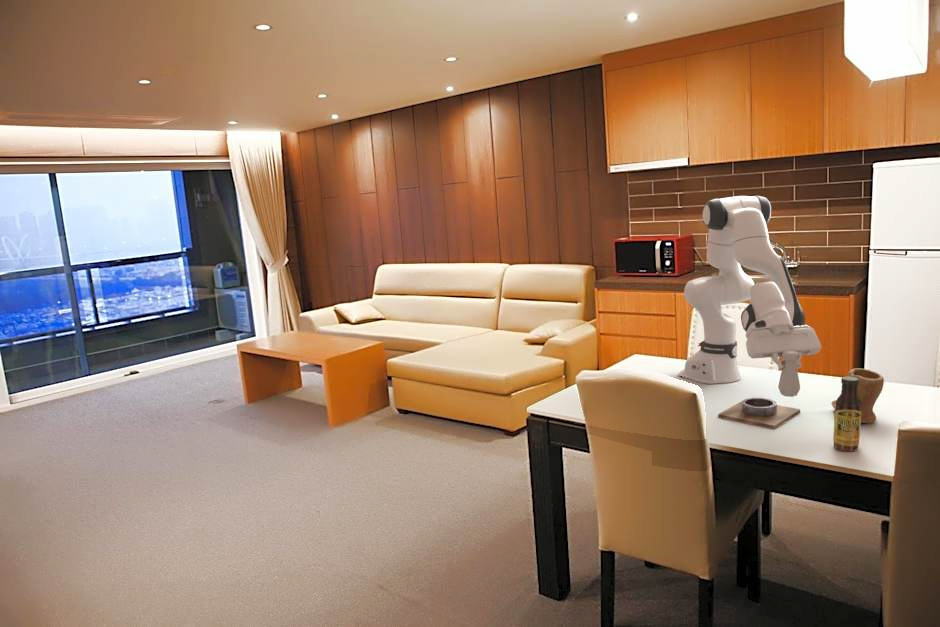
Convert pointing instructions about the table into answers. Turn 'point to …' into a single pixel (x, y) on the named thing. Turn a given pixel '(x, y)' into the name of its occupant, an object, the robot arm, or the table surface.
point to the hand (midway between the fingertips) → (790, 367)
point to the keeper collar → (759, 407)
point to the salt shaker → (789, 375)
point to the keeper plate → (769, 422)
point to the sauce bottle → (847, 416)
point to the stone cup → (866, 391)
